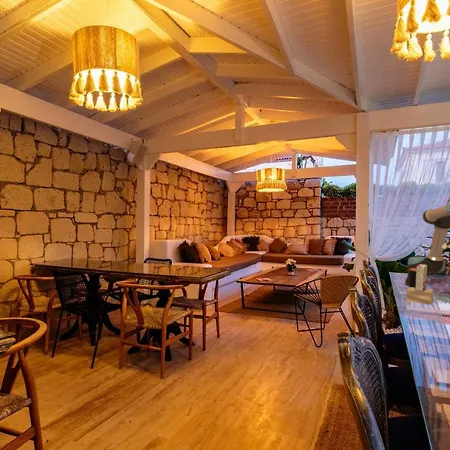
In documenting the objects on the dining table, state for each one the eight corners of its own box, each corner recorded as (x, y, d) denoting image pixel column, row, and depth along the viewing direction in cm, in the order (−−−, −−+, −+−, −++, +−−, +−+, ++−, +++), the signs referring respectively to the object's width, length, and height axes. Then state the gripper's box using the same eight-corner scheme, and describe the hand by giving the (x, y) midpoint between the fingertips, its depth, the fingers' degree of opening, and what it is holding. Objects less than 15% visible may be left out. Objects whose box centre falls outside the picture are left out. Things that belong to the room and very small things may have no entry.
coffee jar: (428, 295, 252) (428, 270, 252) (411, 294, 254) (412, 270, 254) (422, 292, 263) (423, 268, 262) (407, 291, 265) (407, 268, 264)
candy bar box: (417, 287, 241) (419, 264, 240) (426, 289, 237) (427, 265, 237) (414, 290, 232) (416, 265, 231) (423, 291, 229) (425, 266, 228)
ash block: (409, 298, 244) (409, 287, 244) (433, 301, 236) (433, 289, 236) (406, 301, 235) (406, 289, 234) (430, 305, 226) (430, 292, 226)
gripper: (473, 230, 220) (445, 252, 231) (480, 229, 238) (453, 250, 249) (463, 221, 224) (436, 244, 234) (470, 221, 242) (445, 242, 252)
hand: (445, 247), depth 242 cm, fingers open, 13 cm apart
